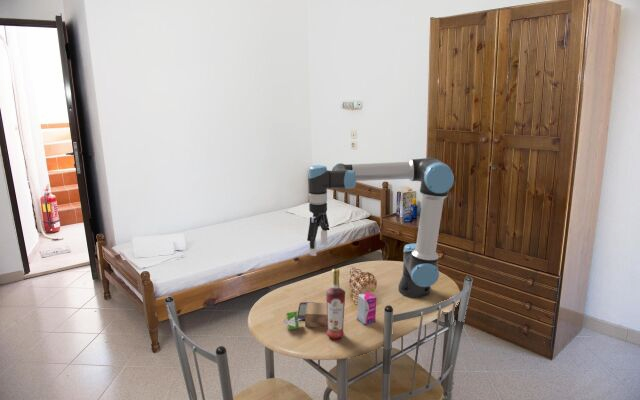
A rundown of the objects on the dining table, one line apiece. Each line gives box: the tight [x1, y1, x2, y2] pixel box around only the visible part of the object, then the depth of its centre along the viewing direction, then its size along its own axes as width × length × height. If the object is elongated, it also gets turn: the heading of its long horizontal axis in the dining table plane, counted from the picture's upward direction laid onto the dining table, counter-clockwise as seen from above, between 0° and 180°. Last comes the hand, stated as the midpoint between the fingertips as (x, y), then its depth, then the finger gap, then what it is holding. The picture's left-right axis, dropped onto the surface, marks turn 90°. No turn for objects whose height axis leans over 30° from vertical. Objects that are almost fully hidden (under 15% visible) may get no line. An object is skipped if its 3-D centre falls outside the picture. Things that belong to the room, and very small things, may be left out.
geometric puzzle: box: [283, 311, 303, 331], centre depth 187 cm, size 7×7×8 cm
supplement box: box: [356, 291, 377, 326], centre depth 192 cm, size 6×6×12 cm
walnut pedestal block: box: [304, 301, 328, 328], centre depth 192 cm, size 10×10×6 cm
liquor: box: [325, 268, 346, 340], centre depth 178 cm, size 7×7×28 cm
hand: (318, 249), depth 200 cm, fingers open, 13 cm apart
